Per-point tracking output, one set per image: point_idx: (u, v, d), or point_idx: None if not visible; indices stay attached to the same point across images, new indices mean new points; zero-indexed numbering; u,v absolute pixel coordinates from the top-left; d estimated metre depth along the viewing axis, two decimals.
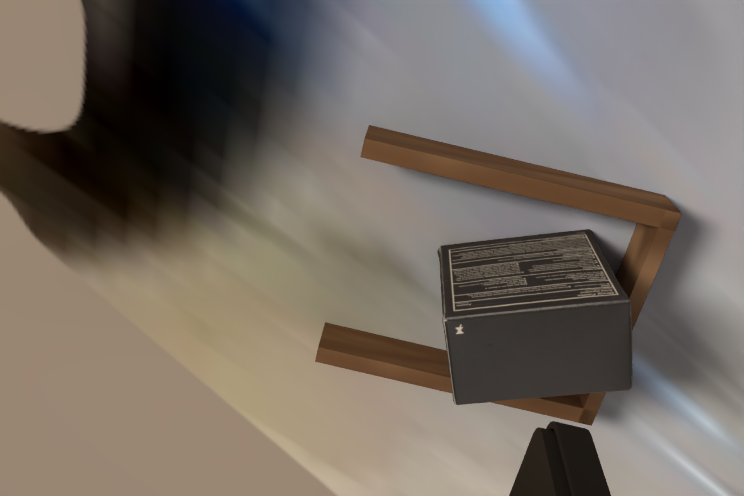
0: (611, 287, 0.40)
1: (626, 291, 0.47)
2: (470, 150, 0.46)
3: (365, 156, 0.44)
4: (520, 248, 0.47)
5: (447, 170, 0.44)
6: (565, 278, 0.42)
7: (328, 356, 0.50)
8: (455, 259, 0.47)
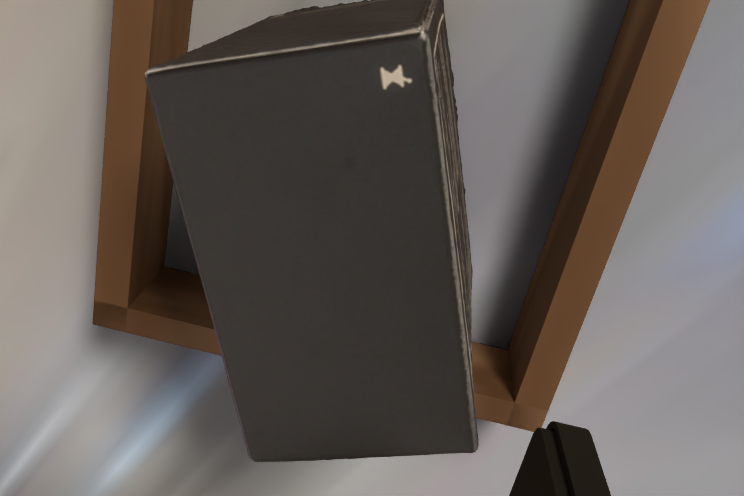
0: None
1: None
2: None
3: None
4: None
5: (677, 7, 0.19)
6: (466, 287, 0.20)
7: None
8: (442, 31, 0.21)
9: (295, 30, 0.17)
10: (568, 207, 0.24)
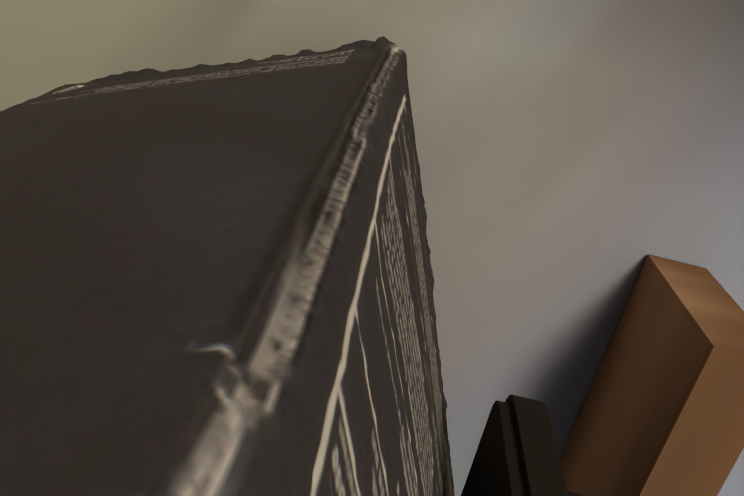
0: None
1: None
2: None
3: (712, 363, 0.11)
4: (437, 391, 0.12)
5: None
6: None
7: None
8: (400, 144, 0.09)
9: None
10: None
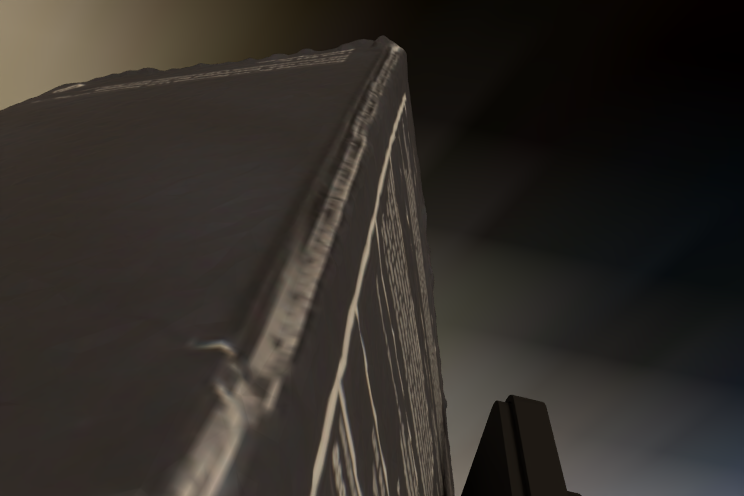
0: None
1: None
2: None
3: None
4: (436, 391, 0.12)
5: None
6: None
7: None
8: (401, 144, 0.09)
9: None
10: None
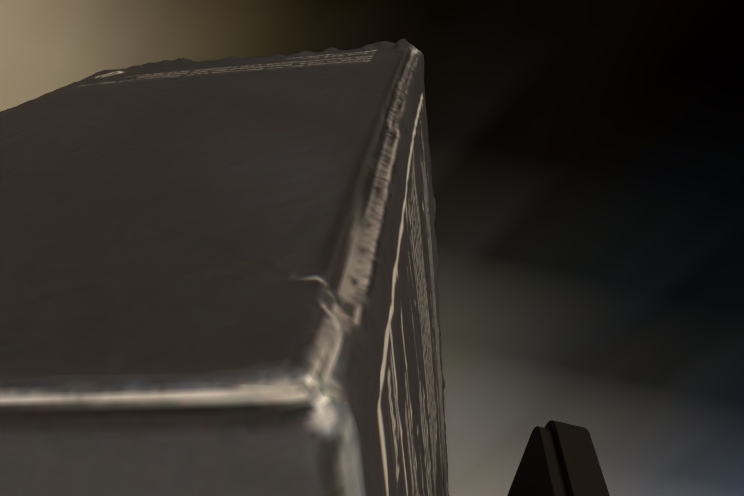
0: None
1: None
2: None
3: None
4: (439, 368, 0.13)
5: None
6: None
7: None
8: (419, 138, 0.10)
9: (2, 190, 0.06)
10: None
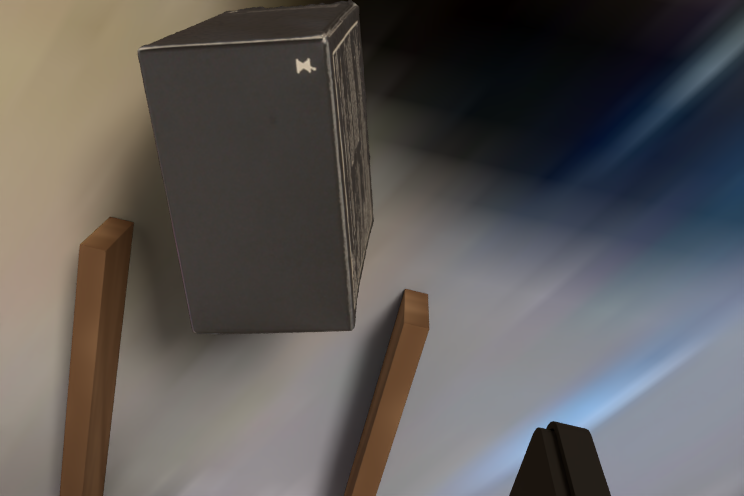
0: (356, 293, 0.27)
1: None
2: None
3: (404, 328, 0.33)
4: (364, 135, 0.31)
5: (385, 417, 0.35)
6: (357, 221, 0.27)
7: (92, 264, 0.33)
8: (353, 34, 0.29)
9: (243, 27, 0.24)
10: (348, 489, 0.40)
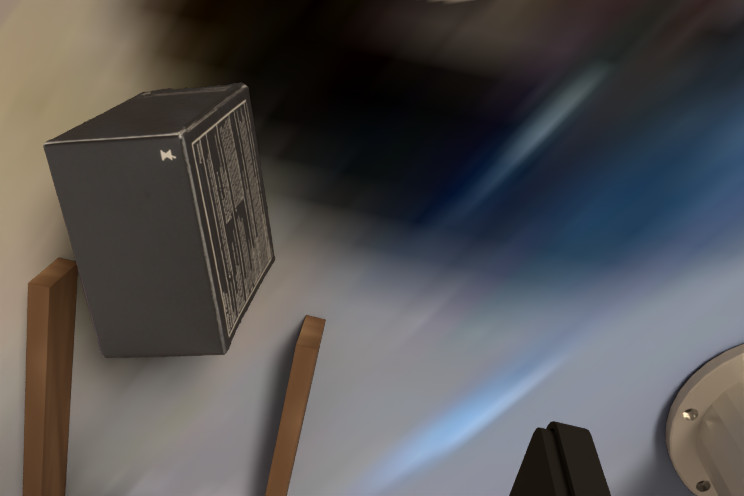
0: (233, 324, 0.33)
1: None
2: (304, 413, 0.45)
3: (297, 349, 0.40)
4: (255, 191, 0.38)
5: (287, 423, 0.42)
6: (236, 265, 0.34)
7: (39, 299, 0.40)
8: (238, 113, 0.36)
9: (132, 119, 0.31)
10: None
